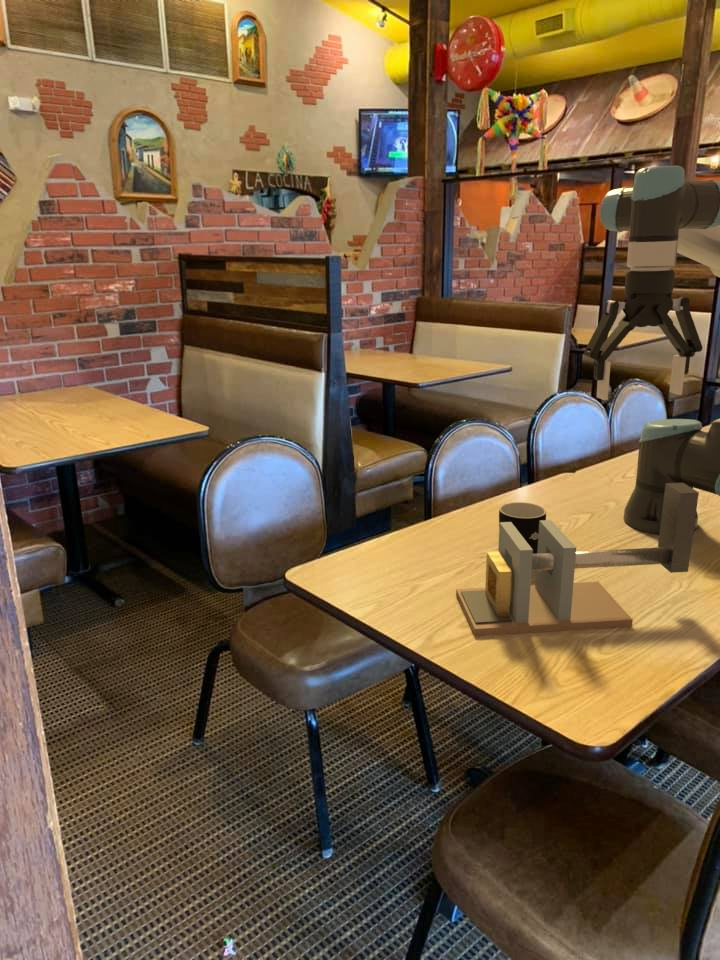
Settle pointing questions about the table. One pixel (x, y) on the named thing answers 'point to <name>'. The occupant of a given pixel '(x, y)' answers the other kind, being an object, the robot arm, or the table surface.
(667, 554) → the shaft
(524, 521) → the mug
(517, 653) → the table surface
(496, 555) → the ring
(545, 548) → the bearing block
